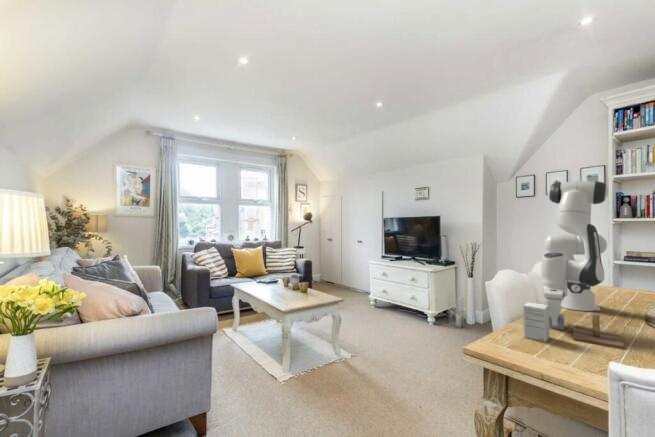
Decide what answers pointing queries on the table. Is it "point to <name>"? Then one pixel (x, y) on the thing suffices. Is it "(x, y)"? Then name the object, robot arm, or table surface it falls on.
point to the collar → (560, 323)
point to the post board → (598, 340)
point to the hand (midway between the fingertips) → (555, 322)
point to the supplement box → (536, 321)
